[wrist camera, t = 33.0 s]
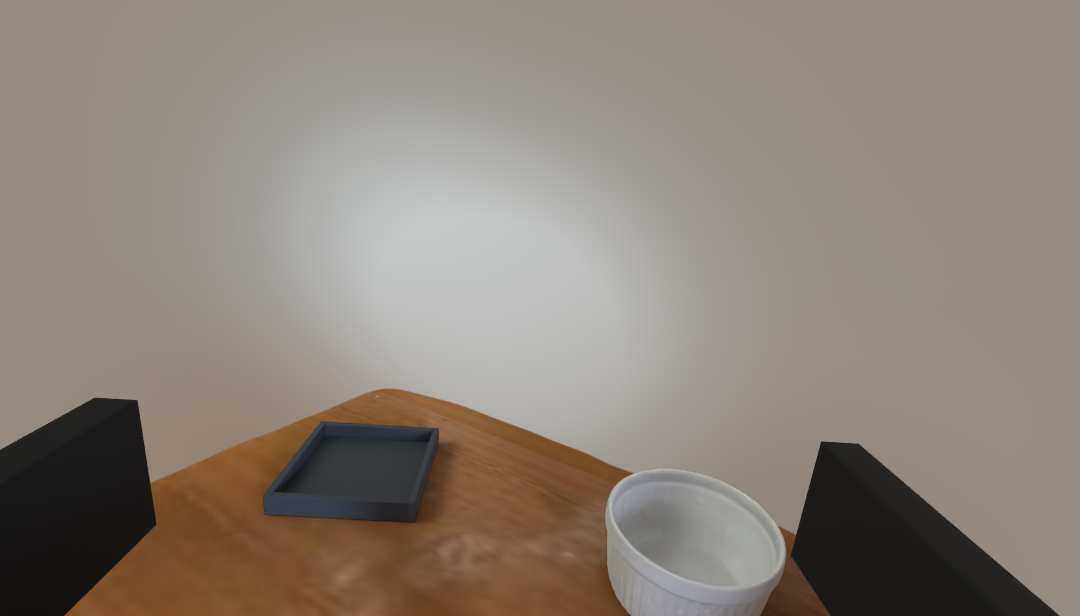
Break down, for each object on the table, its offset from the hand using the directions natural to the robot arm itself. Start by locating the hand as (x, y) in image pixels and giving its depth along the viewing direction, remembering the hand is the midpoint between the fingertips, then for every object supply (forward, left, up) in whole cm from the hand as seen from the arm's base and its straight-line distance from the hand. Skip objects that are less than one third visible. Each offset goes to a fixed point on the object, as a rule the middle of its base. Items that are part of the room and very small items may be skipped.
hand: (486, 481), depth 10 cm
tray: (-14, +37, -26) cm, 47 cm away
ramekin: (+15, +24, -26) cm, 38 cm away
